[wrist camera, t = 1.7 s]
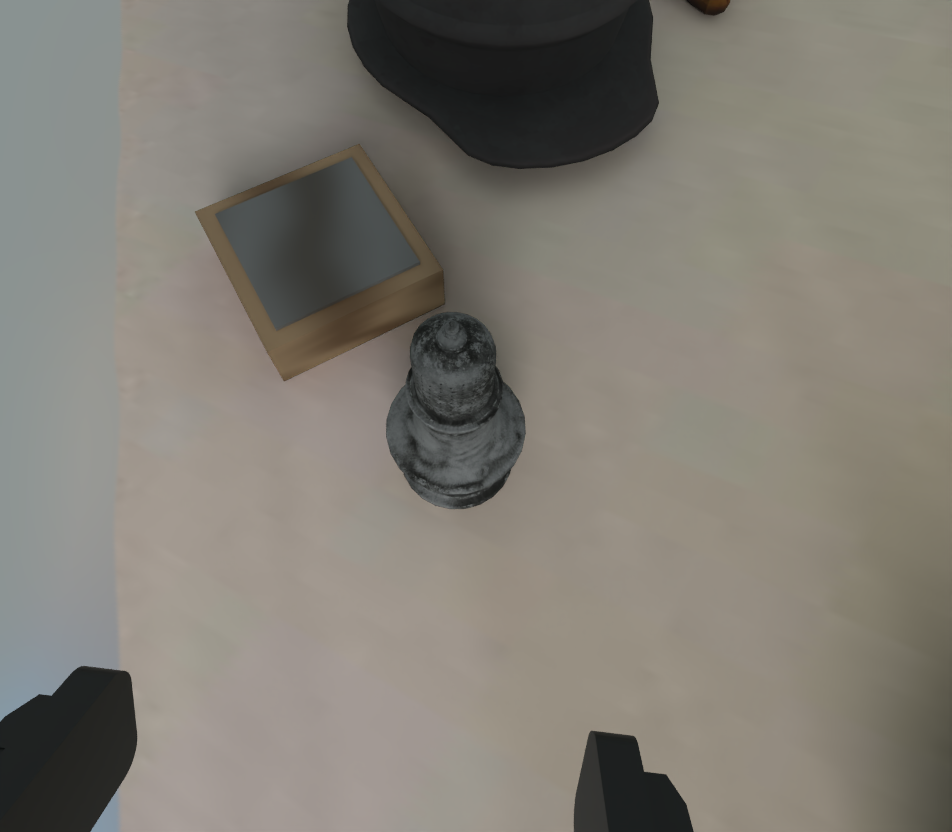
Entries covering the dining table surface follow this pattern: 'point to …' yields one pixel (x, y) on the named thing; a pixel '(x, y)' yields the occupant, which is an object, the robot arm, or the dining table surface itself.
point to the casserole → (516, 72)
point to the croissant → (710, 6)
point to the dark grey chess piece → (455, 415)
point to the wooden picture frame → (323, 260)
